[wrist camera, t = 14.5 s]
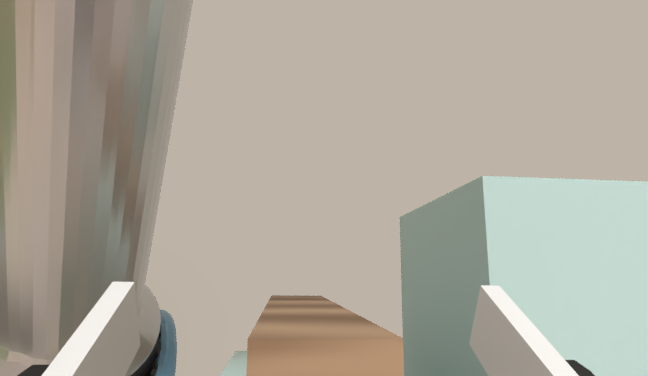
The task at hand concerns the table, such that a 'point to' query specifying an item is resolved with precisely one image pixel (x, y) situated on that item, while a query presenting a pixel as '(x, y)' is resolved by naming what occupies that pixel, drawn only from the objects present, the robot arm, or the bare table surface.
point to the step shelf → (526, 272)
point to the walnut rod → (320, 341)
